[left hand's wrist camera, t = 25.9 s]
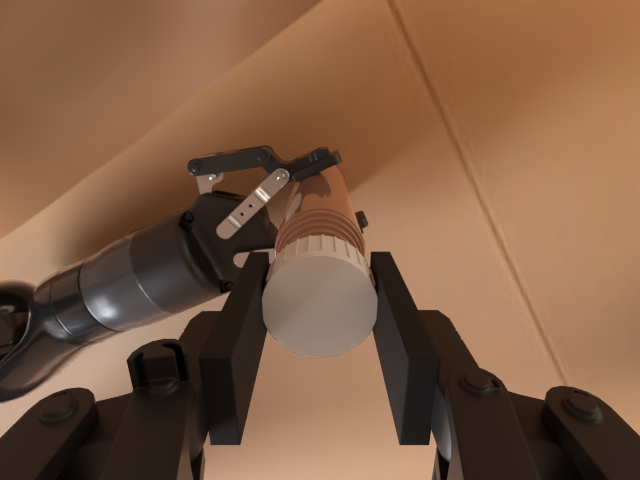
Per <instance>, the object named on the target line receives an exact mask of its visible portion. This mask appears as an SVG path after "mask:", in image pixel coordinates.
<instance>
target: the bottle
mask: <svg viewBox="0 0 640 480" xmlns="http://www.w3.org/2000/svg"><path fill="white" fill-rule="evenodd" d="M309 235H311V236H316V235H324V236H331V237H334V236H335V237H336V238H338V239H341V240H343V241H345V242H346V241H348V243H349V244H350V245H352V246H353V247H355V248H357V249H358V251H359V252H360V253H361V255H362V256H363V257H364V255H365V244H364V239H363V236H362V233H361V230H360V227H359V224H358V221H357V218H356V215H355V212H354V209H353V206H352V203H351V200H350V197H349V194H348V191H347V188H346V185H345V182H344V179H343V176H342V173H341V172H340V170H339V169H338V168H337V167H336V166H335V165H334V166H332V167H330V168H327V169H325V170H323V171H321V172H319V173H316V174H314V175H312V176H310V177H307V178H305V179H303V180H301V181H299V182H297V183H295V184H294V187H293V190H292V193H291V196H290V199H289V202H288V205H287V208H286V211H285V214H284V217H283V220H282V223H281V226H280V229H279V232H278V235H277V238H276V242H275V258H276V256H277V253H280V252H281V251H282V250H283V249H284V248H285V246H286V245H289V244H291V243H292V242H294V241H296V239H301V238H305V237H308V236H309Z"/></svg>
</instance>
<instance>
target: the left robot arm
mask: <svg viewBox="0 0 640 480" xmlns="http://www.w3.org/2000/svg"><path fill="white" fill-rule="evenodd" d="M269 268H270V266H269V252H250V253H249V255H248V257H247V259H246V261H245V263H244V265H243V267H242V269H241V271H240V273H239V276H238V278H237V280H236V282H235V284H234V286H233V288H232V290H231V292H230V294H229V296H228V298H227V300H226V302H225V305H224V307H223V309H222V311H202V312H200V313H199V314H198V315H196V316H195V317H194V318H192V319H191V320H190V322H189V323H188V325H187V327H186V328H185V330H184V332H183V333H182V335H181V336H180V338H179V340H176V339H161V340H157V341H152V342H150V343H148V344H145V345H143V346H141V347H140V348H138V349H137V350H135V351H134V352H133V353H132V354H131V355H130V356H129V358H128V359H127V364H128V368H129V373H130V377H131V382H132V386H133V392H132V393H129V394H126V395H122V396H119V397H114V398H110V399H106V400H101V401H97V402H96V401H95V397H94V394H93V393H92V392H91V391H90V390H89V389H84V388H70V389H65V390H62V391H59V392H56V393H53V394H51V395H49V396H47V397H46V398H44V399H42V400H40V401H39V402H38V403H36V404H35V405H34V406H33V407H31V408H30V409H29V410H28V411H27V412H26V413H25V414H24V415H23V416H22V417H21V418H20V419H19V420H18V421H17V422H16V423H15V424H14V425H13V426H12V427H11V428H10V429H9V430H8V431H7V432H6V433H5V434H4V435H3V436H2V437H1V438H0V480H203V478H204V468H205V456H204V449H203V445H204V442H205V439H206V436H207V433H208V431H209V435H210V442H211V445H240V443H241V439H242V435H243V431H244V426H245V422H246V418H247V414H248V409H249V405H250V401H251V397H252V392H253V388H254V384H255V380H256V375H257V371H258V367H259V363H260V358H261V354H262V350H263V346H264V342H265V337H266V333H267V328H266V326H265V323H264V321H263V308H262V295H263V291H264V288H265V285H266V281H265V280H266V277H267V274H268V271H269ZM370 268H371V271H372V274H373V277H374V281H375V284H376V286H375V289H376V293H377V297H378V305H377V319H376V322H375V325H374V327H373V329H372V330H373V334H374V338H375V342H376V347H377V351H378V355H379V359H380V364H381V368H382V372H383V376H384V381H385V385H386V389H387V393H388V398H389V402H390V406H391V410H392V415H393V419H394V423H395V427H396V431H397V436H398V440H399V444H400V445H429V441H430V434H431V429H432V432H433V435H434V438H435V441H436V444H437V449H436V455H435V462H434V468H433V475H432V480H640V436H639V435H638V434H637V433H636V432H635V431H634V430H633V429H632V428H631V427H630V426H629V425H628V424H627V423H626V422H625V421H624V420H623V419H622V418H621V417H620V416H619V415H618V414H617V413H616V412H615V411H614V410H613V409H612V408H611V407H610V406H608V405H607V404H606V403H605V402H603V401H602V400H601V399H600V398H598V397H596V396H594V395H592V394H590V393H588V392H586V391H583V390H580V389H577V388H574V387H566V386H558V387H553V388H551V389H550V390H549V391H548V392H547V393H546V396H545V400H541V399H536V398H532V397H528V396H523V395H519V394H516V393H512V392H509V391H507V389H506V387H505V385H504V384H503V382H502V381H501V380H500V379H499V378H497V377H496V376H495V375H494V374H492V373H490V372H488V371H486V370H484V369H481V368H479V366H478V365H477V363H476V361H475V360H474V358H473V357H472V355H471V353H470V352H469V350H468V348H467V347H466V345H465V343H464V342H463V340H461V337H460V335H459V334H458V332H457V331H456V329H455V327H454V325H453V324H452V322H451V321H450V319H449V318H448V317H446V316H445V315H444V314H442V313H441V312H440V311H438V310H418V309H417V307H416V305H415V303H414V301H413V299H412V297H411V295H410V293H409V291H408V288H407V286H406V284H405V282H404V280H403V278H402V276H401V274H400V272H399V270H398V268H397V266H396V264H395V262H394V259H393V257H392V255H391V253H390V252H371V262H370Z"/></svg>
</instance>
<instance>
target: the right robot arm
mask: <svg viewBox="0 0 640 480" xmlns="http://www.w3.org/2000/svg"><path fill="white" fill-rule="evenodd" d="M341 161H342V160H341V157H340V155H339V153H338V150H335V151H333V152H329V150H328V147H320V148H318V149H316V150H314V151H311V152H309V153H307V154H305V155H303V156H301V157H298V158H296V159H294V160H292V161H284V160H282V159H281V158H280V157H279V156H278V155H277V154H276V153H275V152H274V150H273V148H272V147H270V146H268V145H264V146H258V147H251V148H245V149H239V150H232V151H226V152H220V153H214V154H207V155H202V156H200V157H197V158H195V159H193V160H191V161H189V163H188V166H187V167H188V171H189V172H190V173H191V174H192V175H194V176H195V177H196V180H197V184H198V188H199V191H200V196H198V198H197V199H196V201H195V202H194V203H193V205H191V206H189V207H187V208H185V209H183V210H181V211H179V212H176V213H174V214H172V215H170V216H168V217H166V218H164V219H161V220H159V221H157V222H155V223H153V224H150V225H148V226H146V227H144V228H142V229H138V230H135V231H132V232H130V233H128V234H127V235H126V236H125V237H123V238H120V239H118V240H116V241H114V242H112V243H111V244H109V245H107V246H106V247H104V248H103V249H101V250H100V251H98V252H97V253H95V254H93V255H91V256H89V257H87V258H85V259H82V260H80V261H78V262H76V263H74V264H72V265H69V266H67V267H65V268H63V269H61V270H59V271H57V272H55V273H53V274H51V275H49V276H48V277H46V278H45V279H43V280H42V281H41V282H40V283H39V284H38V285H37V286H35V285H33V284H31V283H28V282H25V281H20V280H2V281H0V405H1V404H5V403H9V402H12V401H15V400H17V399H20V398H22V397H24V396H26V395H28V394H30V393H32V392H34V391H36V390H37V389H39V388H40V387H42V386H43V385H45V384H46V383H48V382H49V381H51V380H52V379H53V378H54V377H56V376H57V375H58V374H59V373H61V372H62V371H63V370H64V369H65V368H66V367H67V366H69V365H70V364H71V363H72V362H73V361H74V360H76V359H77V358H78V357H79V356H81V355H82V354H83V353H85V352H86V351H87V350H88V349H90V348H91V347H93V346H94V345H96V344H98V343H101V342H103V341H105V340H108V339H110V338H113V337H115V336H117V335H120V334H122V333H125V332H127V331H129V330H132V329H135V328H138V327H142V326H146V325H150V324H153V323H156V322H159V321H161V320H163V319H166V318H168V317H171V316H173V315H176V314H178V313H180V312H183V311H185V310H188V309H190V308H192V307H195V306H197V305H200V304H202V303H204V302H207V301H209V300H212V299H214V298H216V297H219V296H221V295H224V294H226V293H228V292H230V291H231V290H232V288H233V286H234V284H235V282H236V280H237V278H238V276H239V273H240V271H241V269H242V267H243V265H244V263H245V261H246V259H247V257H248V255H249V253H250V252H269V266H270V265H271V262H272V263H273V262H274V260H275V242H276V238H277V235H278V230H277V228H276V227H275V226H274V225H273V223H272V222H271V221H270V219H269V215H268V211H267V209H266V207H265V204H266V203H267V202H268V201H269V200H270V198H271V197H272V196H274V195H275V194H276V193H277V192H278V191H279V190H280V189H281V188H282V187H283V186H284V185H285V184H286V183H289V182H291V181H293V180H294V182H295V183H297V182H299V181H301V180H303V179H305V178H307V177H310V176H312V175H314V174H316V173H319V172H321V171H323V170H325V169H327V168H330V167H332V166H334V165H336V164H338V163H340V162H341ZM260 166H261V167H262V168H263V169H264V170H265V171H266V172H267V173H268V174H269V175H268V176H267V177H266V178H265V179H264V180H263V181H262V182H261V183H260V184H259V185H258V186H257V187H256V188H254V189H253V190H252V191H251V192H250V193H249V194H248V195H247V196H244V195H239V194H234V193H229V192H224V191H218V190H215V185H216V183H219V182H221V181H222V180H223V179H224V178H225V177H226V172H228V171H234V170H241V169H247V168H254V167H260ZM355 215H356V218H357V221H358V224H359V227H360V230H361V233H362V234H363V230H362V228H364V227H366V226H367V225H368V222H367V219H366V217H365V215H364V212H363V211H359V212H356V213H355Z"/></svg>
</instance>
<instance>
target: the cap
mask: <svg viewBox="0 0 640 480" xmlns="http://www.w3.org/2000/svg"><path fill="white" fill-rule="evenodd" d="M265 281H266V285H265V288H264V291H263V295H262V308H263V321H264V323H265V326H266V328H267V329H268V331H269V333H270V334H271V335H272V337H273V338H274V339H275V340H276V341H277V342H278V343H280V344H281V345H282V346H283V347H285V348H287V349H288V350H290V351H292V352H295V353H297V354H300V355H303V356H309V357H331V356H336V355H340V354H342V353H345V352H347V351H349V350H351V349H353V348H354V347H356V346H357V345H359V344H360V343H361V342H362V341H363V340H364V339H365V338H366V337H367V336H368V335H369V333H370V332H371V330H372V329H373V327H374V325H375V322H376V319H377V305H378V297H377V293H376V289H375V286H376V284H375V281H374V277H373V274H372V271H371V268H370V267H368V264H367V261H366V258H365V257H363V256H362V255H361V253H360V252H359V251H358V249H357V248H355V247H353V246H352V245H350V244H349V243H348V241H346V242H345V241H343V240H341V239H338V238H336V237H335V236H334V237H331V236H324V235H316V236H311V235H309V236H308V237H305V238H301V239H296V241H294V242H292V243H291V244H289V245H286V246H285V248H284V249H283V250H282V251H281V252H280V253H277V256H276V258H275V260H274V262H273V263H272V262H271V265H270V268H269V271H268V274H267V277H266V280H265Z"/></svg>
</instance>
